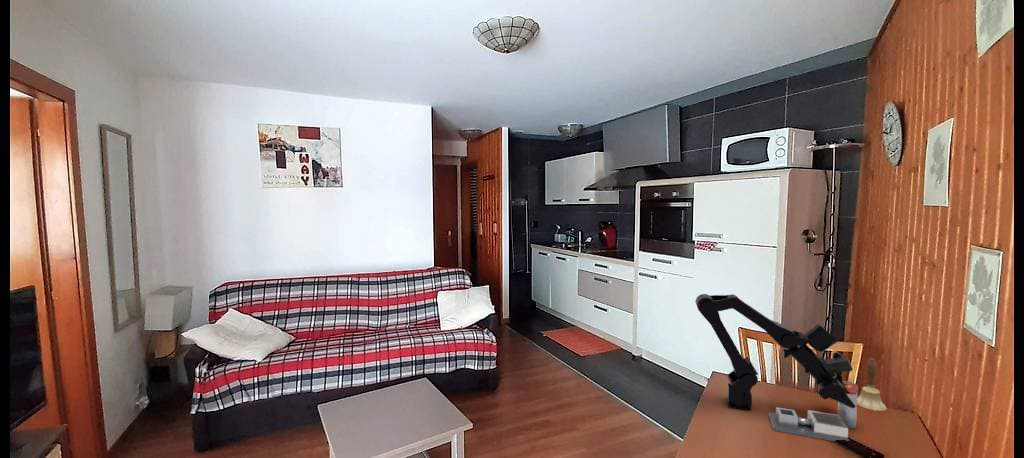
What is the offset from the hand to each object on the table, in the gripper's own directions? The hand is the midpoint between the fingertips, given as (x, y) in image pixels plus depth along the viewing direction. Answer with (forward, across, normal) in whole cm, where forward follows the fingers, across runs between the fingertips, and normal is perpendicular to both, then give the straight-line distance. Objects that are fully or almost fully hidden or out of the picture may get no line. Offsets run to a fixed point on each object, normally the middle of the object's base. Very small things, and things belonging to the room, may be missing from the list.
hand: (853, 404), depth 123 cm
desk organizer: (-3, -10, +13) cm, 17 cm away
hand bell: (+9, +19, +1) cm, 21 cm away
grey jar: (+4, 0, +6) cm, 7 cm away
